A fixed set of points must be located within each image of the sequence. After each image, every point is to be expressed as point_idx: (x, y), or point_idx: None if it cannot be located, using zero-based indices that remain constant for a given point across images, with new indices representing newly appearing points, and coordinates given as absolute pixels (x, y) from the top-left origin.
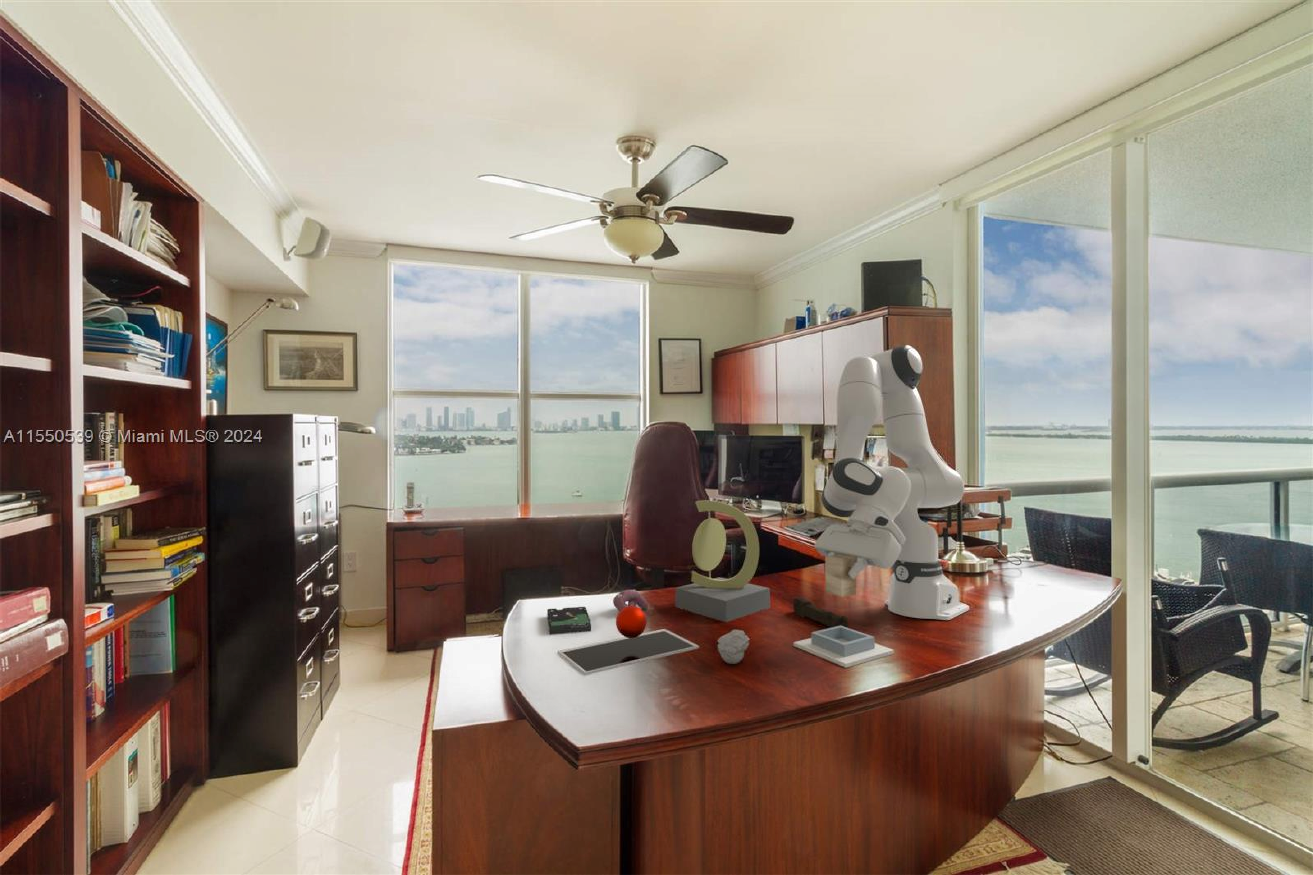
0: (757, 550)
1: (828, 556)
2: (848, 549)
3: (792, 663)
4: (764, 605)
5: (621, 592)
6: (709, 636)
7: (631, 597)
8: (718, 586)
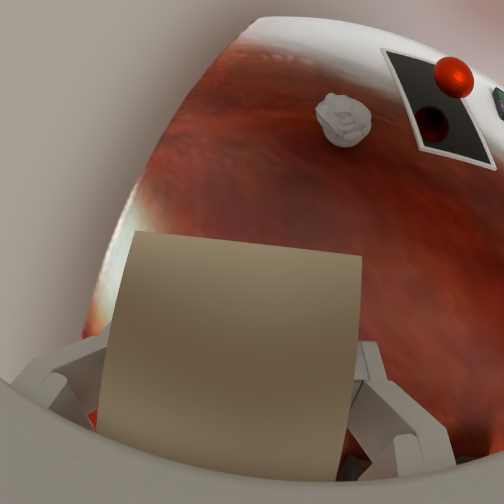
0: None
1: (345, 290)
2: (142, 498)
3: (277, 209)
4: None
5: None
6: (462, 199)
7: None
8: None
